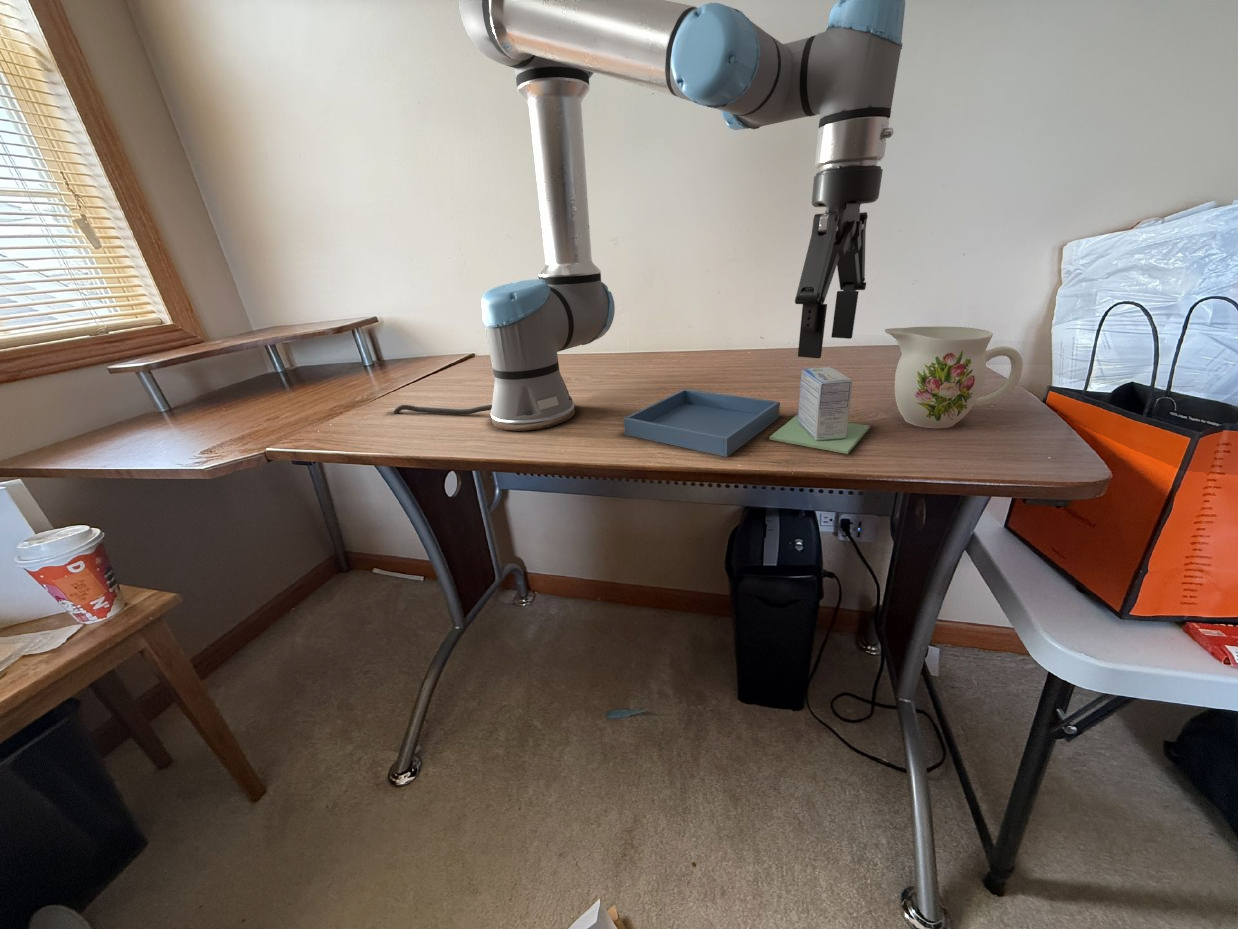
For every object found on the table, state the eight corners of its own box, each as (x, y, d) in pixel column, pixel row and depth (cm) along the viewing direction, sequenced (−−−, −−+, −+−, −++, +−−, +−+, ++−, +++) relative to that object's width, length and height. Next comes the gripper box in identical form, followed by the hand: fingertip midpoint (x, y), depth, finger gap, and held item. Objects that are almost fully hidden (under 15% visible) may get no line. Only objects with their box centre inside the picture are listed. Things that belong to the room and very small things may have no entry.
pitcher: (1023, 436, 65) (1054, 333, 59) (877, 432, 70) (892, 337, 64) (991, 410, 75) (1015, 319, 69) (864, 408, 80) (877, 323, 74)
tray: (624, 434, 77) (623, 418, 76) (684, 403, 90) (684, 388, 88) (727, 457, 66) (727, 438, 65) (778, 417, 79) (780, 401, 78)
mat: (769, 439, 71) (769, 436, 70) (796, 417, 78) (796, 414, 78) (847, 454, 64) (848, 450, 64) (869, 428, 72) (869, 425, 71)
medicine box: (846, 439, 67) (854, 379, 64) (814, 441, 67) (820, 382, 64) (825, 421, 74) (831, 366, 71) (796, 423, 75) (801, 368, 71)
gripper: (851, 154, 46) (824, 370, 55) (905, 169, 63) (879, 332, 72) (776, 165, 51) (762, 363, 60) (846, 177, 68) (827, 329, 77)
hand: (826, 347), depth 66 cm, fingers open, 13 cm apart
